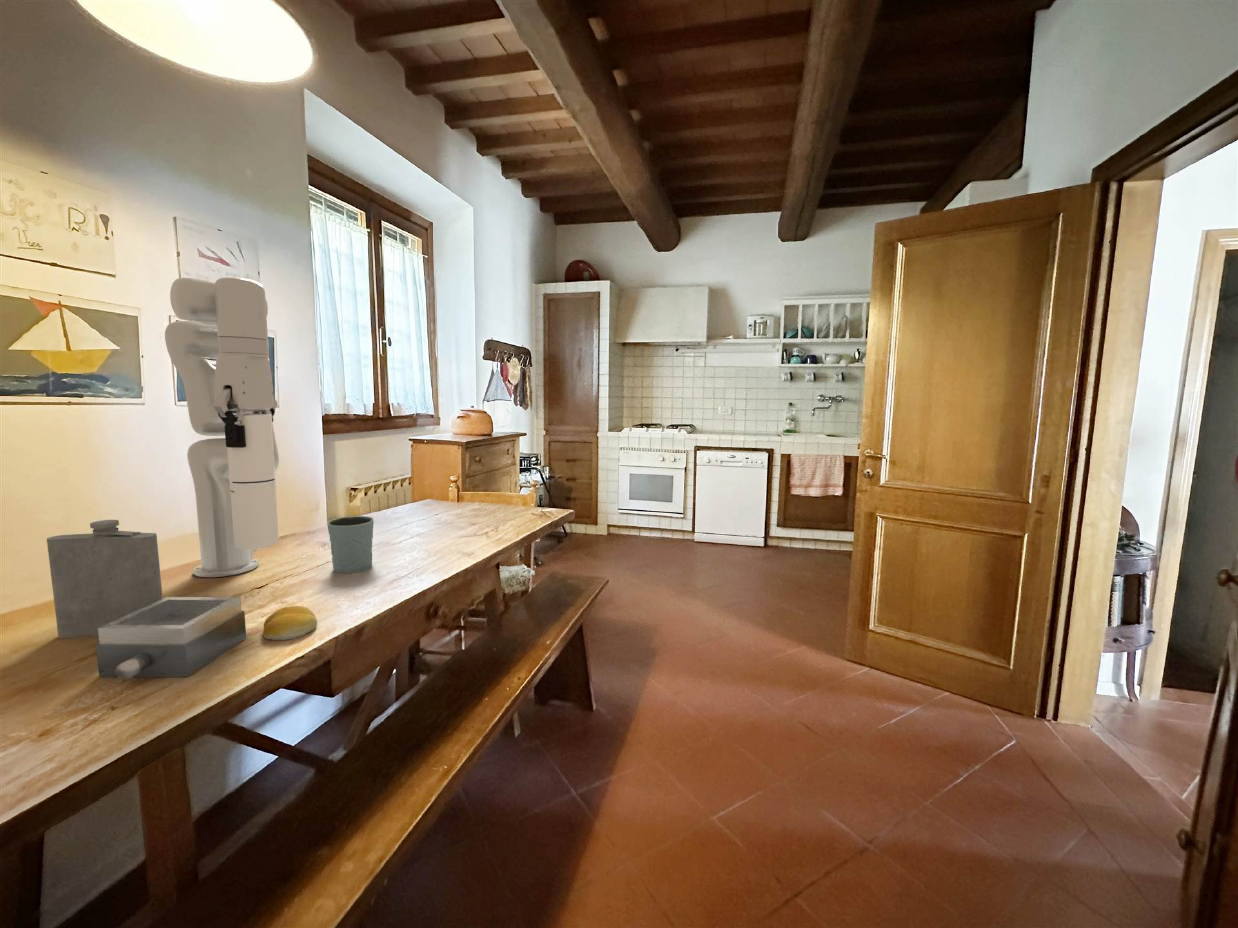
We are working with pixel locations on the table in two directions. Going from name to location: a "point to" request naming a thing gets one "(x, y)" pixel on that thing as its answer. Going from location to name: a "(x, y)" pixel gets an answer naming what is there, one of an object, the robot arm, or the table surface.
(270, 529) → the cylindrical container
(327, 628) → the table surface
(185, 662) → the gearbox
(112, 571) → the hip flask
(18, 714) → the table surface
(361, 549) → the green cup
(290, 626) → the bread roll
